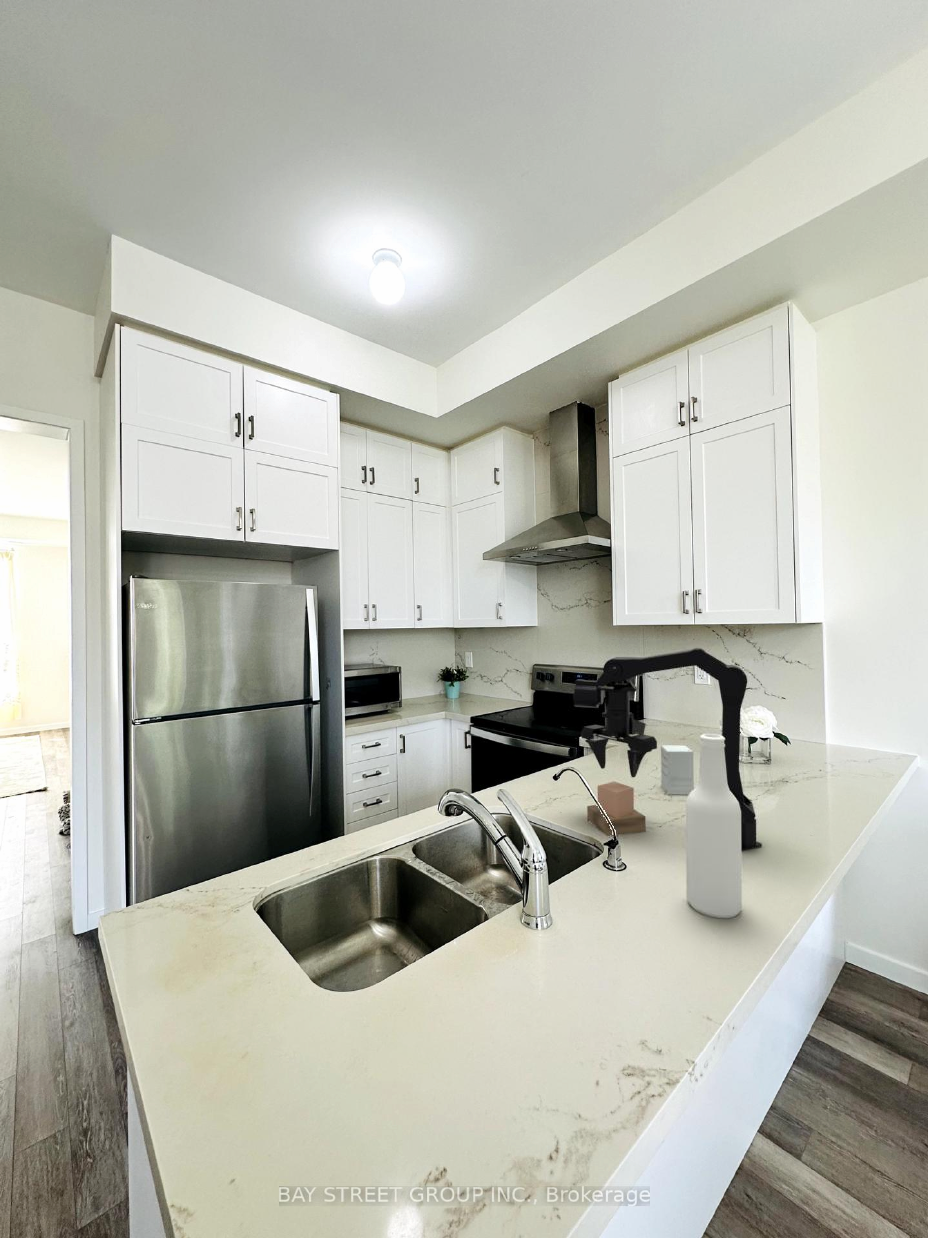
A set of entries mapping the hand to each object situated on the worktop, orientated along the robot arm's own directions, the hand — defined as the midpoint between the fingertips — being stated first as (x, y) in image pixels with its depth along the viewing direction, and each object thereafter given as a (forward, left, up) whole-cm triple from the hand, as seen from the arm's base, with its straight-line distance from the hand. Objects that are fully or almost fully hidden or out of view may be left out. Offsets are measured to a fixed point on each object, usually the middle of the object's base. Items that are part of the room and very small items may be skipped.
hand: (617, 772), depth 130 cm
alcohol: (-36, +6, -13) cm, 39 cm away
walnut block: (0, +1, -13) cm, 13 cm away
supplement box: (+16, -31, -13) cm, 38 cm away
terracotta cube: (0, +1, -9) cm, 9 cm away
